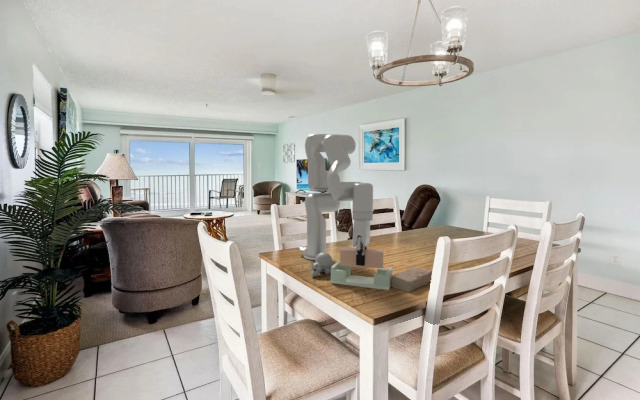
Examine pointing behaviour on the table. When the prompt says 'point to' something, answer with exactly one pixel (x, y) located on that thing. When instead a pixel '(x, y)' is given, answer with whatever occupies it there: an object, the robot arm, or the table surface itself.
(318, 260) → the chubby cartoon animal
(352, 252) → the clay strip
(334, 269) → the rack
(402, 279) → the brick
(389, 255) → the table surface
